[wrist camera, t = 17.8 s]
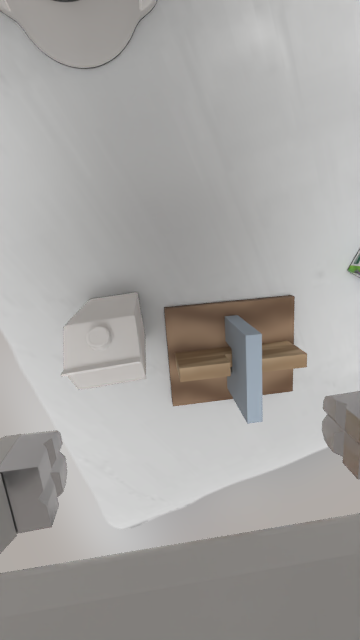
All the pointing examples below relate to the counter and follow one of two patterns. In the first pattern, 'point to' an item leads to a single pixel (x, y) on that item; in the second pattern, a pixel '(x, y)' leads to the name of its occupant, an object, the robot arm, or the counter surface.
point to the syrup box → (355, 265)
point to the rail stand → (228, 347)
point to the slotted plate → (245, 367)
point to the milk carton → (105, 342)
